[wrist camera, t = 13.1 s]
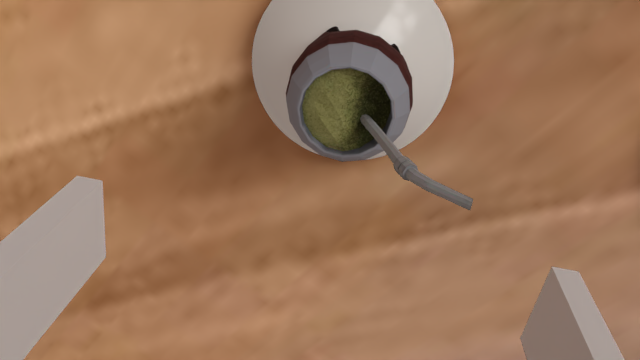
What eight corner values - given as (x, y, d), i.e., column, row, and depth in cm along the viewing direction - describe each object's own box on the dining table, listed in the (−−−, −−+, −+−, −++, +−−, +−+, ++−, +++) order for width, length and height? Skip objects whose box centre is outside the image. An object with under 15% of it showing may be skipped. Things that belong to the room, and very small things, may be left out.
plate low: (267, -59, 33) (261, -57, 32) (475, -22, 33) (479, -19, 31) (248, 133, 39) (243, 142, 38) (424, 166, 39) (425, 175, 37)
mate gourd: (280, 49, 34) (213, 138, 21) (391, -14, 32) (393, 43, 19) (336, 144, 37) (308, 277, 24) (443, 92, 34) (477, 209, 21)
